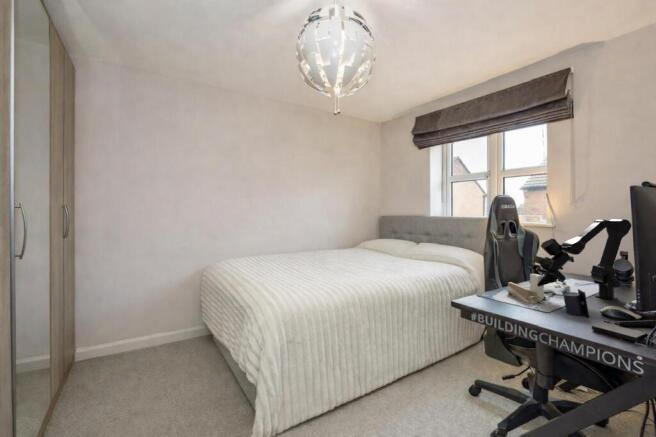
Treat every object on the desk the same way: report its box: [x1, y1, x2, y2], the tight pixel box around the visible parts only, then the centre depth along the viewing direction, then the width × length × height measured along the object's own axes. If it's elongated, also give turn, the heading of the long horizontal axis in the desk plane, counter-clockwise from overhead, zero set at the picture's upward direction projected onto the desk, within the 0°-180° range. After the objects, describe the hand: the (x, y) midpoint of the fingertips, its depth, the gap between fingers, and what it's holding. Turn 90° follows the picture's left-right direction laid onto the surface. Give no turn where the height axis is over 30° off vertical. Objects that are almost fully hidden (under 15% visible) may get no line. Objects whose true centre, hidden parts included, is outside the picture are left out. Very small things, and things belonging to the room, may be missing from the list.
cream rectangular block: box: [529, 273, 545, 299], centre depth 147 cm, size 3×6×12 cm, turn 178°
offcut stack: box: [523, 286, 536, 296], centre depth 148 cm, size 4×10×4 cm, turn 178°
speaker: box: [562, 288, 590, 319], centre depth 124 cm, size 8×6×10 cm
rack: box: [507, 281, 547, 304], centre depth 147 cm, size 12×16×6 cm
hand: (533, 284), depth 147 cm, fingers closed on cream rectangular block, 5 cm apart
